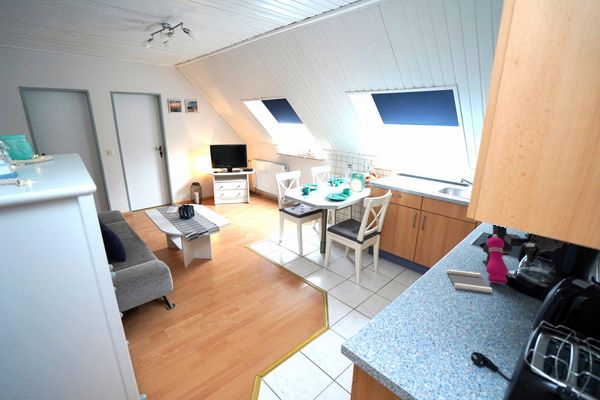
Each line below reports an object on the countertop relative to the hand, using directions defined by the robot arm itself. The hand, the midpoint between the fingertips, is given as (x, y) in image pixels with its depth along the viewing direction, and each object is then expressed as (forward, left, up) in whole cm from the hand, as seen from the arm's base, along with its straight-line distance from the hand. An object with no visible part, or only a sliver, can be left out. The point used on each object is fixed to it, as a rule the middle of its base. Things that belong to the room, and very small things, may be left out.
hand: (530, 262), depth 107 cm
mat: (0, -20, -12) cm, 24 cm away
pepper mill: (0, -9, -10) cm, 14 cm away
